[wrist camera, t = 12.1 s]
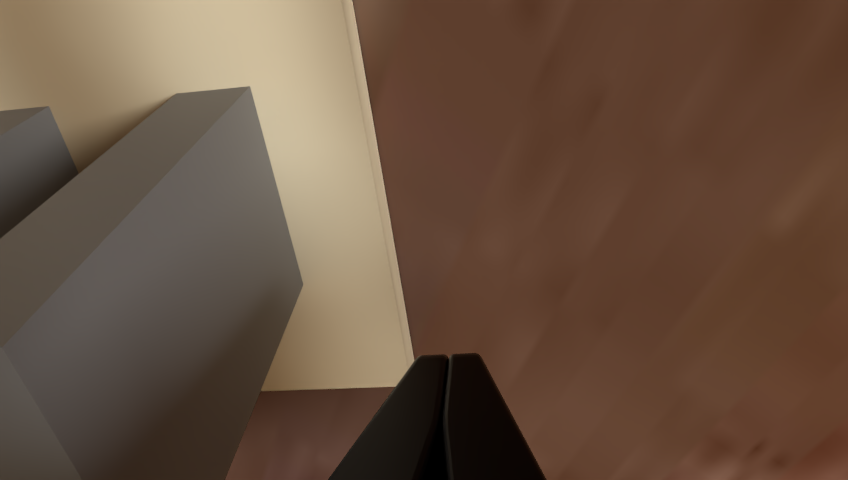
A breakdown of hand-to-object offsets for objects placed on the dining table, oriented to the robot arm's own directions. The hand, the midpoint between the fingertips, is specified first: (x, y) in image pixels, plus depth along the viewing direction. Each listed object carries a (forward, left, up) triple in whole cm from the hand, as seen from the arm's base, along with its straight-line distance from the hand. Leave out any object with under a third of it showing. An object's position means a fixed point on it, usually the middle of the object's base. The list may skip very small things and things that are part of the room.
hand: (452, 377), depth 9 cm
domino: (+5, 0, -6) cm, 8 cm away
